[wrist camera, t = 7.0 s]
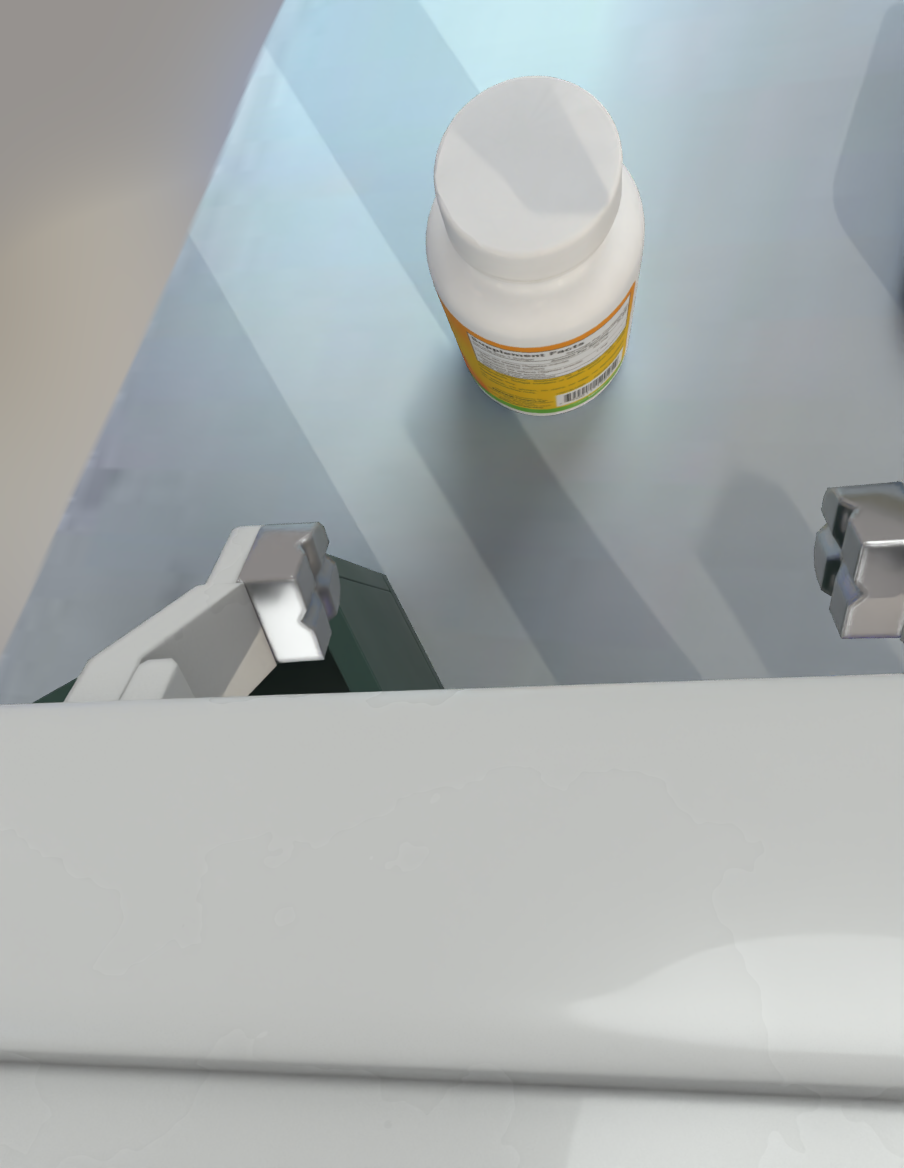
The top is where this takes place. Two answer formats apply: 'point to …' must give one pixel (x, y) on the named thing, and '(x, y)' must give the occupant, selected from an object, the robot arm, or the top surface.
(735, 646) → the top surface
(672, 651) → the top surface
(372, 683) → the bin
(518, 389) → the supplement bottle
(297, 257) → the top surface
